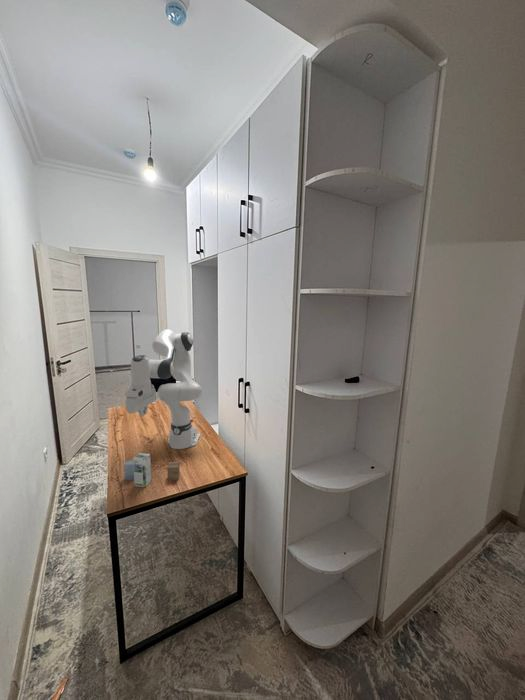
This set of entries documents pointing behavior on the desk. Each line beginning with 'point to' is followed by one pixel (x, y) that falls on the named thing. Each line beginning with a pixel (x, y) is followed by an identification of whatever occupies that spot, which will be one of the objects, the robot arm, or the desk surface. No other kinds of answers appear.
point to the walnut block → (173, 471)
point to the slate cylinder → (129, 470)
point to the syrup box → (142, 469)
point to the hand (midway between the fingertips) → (143, 415)
